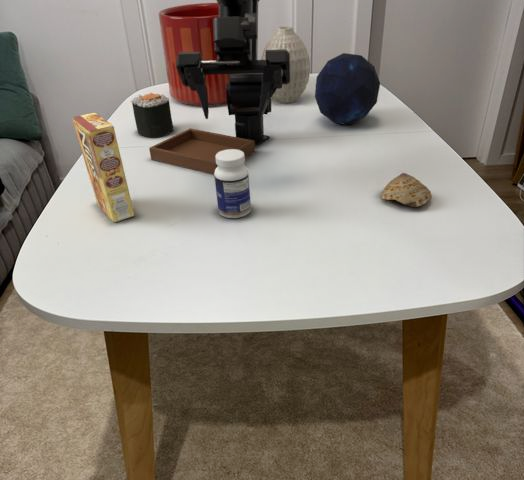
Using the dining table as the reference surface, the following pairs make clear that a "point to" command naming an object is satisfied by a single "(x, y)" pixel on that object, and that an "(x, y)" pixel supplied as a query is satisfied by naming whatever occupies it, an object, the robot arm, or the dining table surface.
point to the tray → (198, 149)
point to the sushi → (152, 115)
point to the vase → (298, 64)
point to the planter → (191, 49)
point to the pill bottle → (232, 184)
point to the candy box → (104, 165)
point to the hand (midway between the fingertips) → (233, 117)
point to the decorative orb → (347, 88)
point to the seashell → (406, 191)
